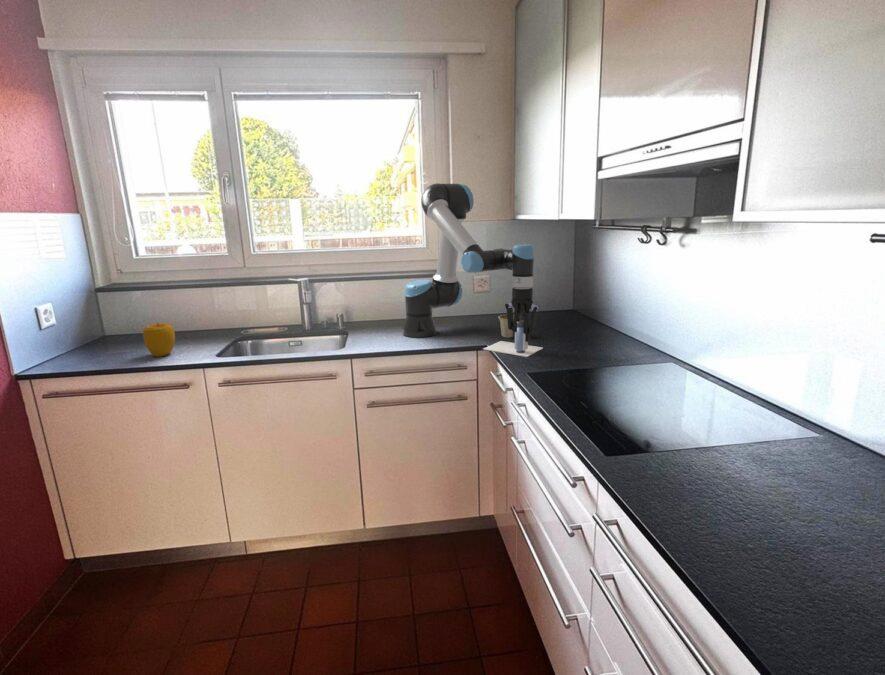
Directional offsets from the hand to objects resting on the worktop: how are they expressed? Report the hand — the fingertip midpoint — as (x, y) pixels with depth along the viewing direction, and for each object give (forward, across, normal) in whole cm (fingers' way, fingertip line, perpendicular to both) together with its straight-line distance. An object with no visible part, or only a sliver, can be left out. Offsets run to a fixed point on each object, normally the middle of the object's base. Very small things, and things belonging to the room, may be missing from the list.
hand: (521, 348), depth 182 cm
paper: (+2, -5, +3) cm, 6 cm away
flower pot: (+2, -16, +20) cm, 26 cm away
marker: (+1, 0, 0) cm, 1 cm away
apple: (+2, -117, -78) cm, 141 cm away
